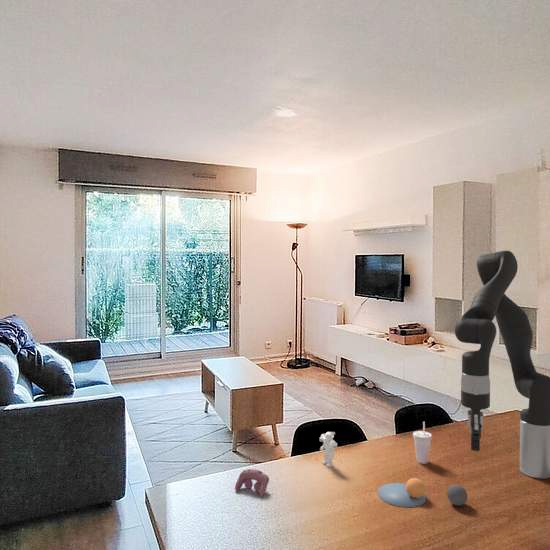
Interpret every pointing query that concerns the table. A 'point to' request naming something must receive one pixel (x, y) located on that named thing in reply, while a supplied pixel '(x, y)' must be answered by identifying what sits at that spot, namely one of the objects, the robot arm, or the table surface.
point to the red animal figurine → (251, 475)
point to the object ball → (415, 488)
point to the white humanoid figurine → (328, 448)
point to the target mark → (399, 495)
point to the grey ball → (457, 495)
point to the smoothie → (422, 445)
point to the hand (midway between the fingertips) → (475, 449)
